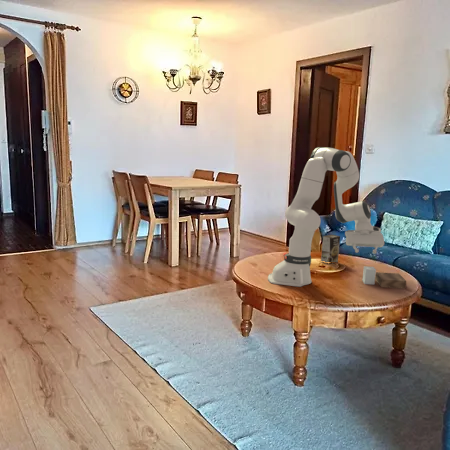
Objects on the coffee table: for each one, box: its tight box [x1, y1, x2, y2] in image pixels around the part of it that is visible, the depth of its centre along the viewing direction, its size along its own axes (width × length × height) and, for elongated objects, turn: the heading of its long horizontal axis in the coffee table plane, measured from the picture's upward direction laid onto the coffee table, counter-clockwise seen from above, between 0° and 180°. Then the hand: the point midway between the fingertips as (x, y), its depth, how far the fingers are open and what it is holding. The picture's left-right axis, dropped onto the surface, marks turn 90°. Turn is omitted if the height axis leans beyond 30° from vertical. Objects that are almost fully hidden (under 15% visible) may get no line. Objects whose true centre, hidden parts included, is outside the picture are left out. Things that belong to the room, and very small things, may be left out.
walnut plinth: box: [375, 271, 407, 289], centre depth 224 cm, size 12×12×4 cm
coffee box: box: [320, 234, 341, 263], centre depth 258 cm, size 9×6×16 cm
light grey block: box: [362, 265, 377, 285], centre depth 224 cm, size 5×5×8 cm
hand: (365, 252), depth 233 cm, fingers open, 8 cm apart
